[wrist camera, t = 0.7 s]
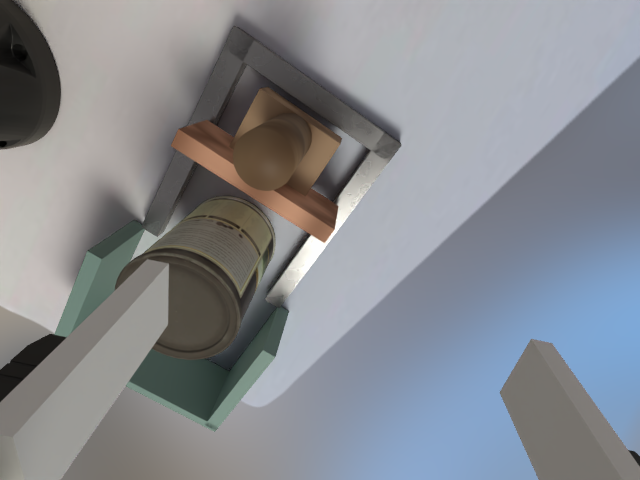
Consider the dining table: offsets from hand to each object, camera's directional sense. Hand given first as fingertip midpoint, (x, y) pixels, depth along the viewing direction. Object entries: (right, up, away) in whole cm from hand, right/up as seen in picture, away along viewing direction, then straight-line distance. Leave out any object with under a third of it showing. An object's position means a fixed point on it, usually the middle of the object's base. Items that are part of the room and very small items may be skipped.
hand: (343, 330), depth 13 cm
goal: (-17, -5, +33) cm, 38 cm away
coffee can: (-11, +4, +29) cm, 31 cm away
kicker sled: (-4, +12, +22) cm, 25 cm away
